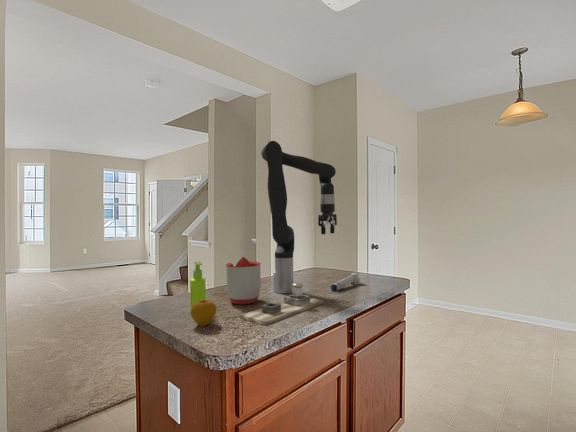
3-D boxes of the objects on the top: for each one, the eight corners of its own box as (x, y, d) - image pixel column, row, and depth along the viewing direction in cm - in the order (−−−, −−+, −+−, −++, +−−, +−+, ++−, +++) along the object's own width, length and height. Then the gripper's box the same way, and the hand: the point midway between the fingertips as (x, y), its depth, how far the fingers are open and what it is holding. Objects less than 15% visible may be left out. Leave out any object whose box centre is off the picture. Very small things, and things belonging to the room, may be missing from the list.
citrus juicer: (249, 294, 157) (248, 253, 157) (268, 302, 143) (267, 257, 143) (218, 300, 148) (218, 256, 148) (236, 308, 134) (235, 260, 134)
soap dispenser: (192, 315, 126) (192, 263, 126) (189, 310, 132) (188, 261, 132) (207, 313, 129) (207, 262, 129) (203, 308, 135) (203, 260, 135)
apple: (220, 326, 113) (220, 300, 113) (195, 331, 108) (194, 304, 108) (211, 319, 121) (211, 295, 121) (187, 323, 116) (187, 298, 116)
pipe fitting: (290, 303, 137) (289, 284, 137) (296, 300, 140) (296, 282, 140) (298, 304, 134) (298, 285, 134) (305, 302, 137) (304, 283, 137)
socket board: (240, 318, 122) (240, 307, 121) (299, 298, 149) (299, 290, 149) (265, 325, 113) (265, 314, 113) (323, 303, 141) (323, 294, 141)
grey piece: (328, 283, 163) (352, 269, 182) (330, 296, 164) (353, 281, 183) (337, 284, 160) (361, 270, 179) (339, 297, 160) (361, 282, 180)
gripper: (328, 203, 180) (329, 233, 180) (313, 203, 169) (314, 234, 169) (340, 203, 175) (341, 233, 175) (325, 202, 164) (326, 234, 164)
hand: (327, 233), depth 172 cm, fingers open, 8 cm apart
